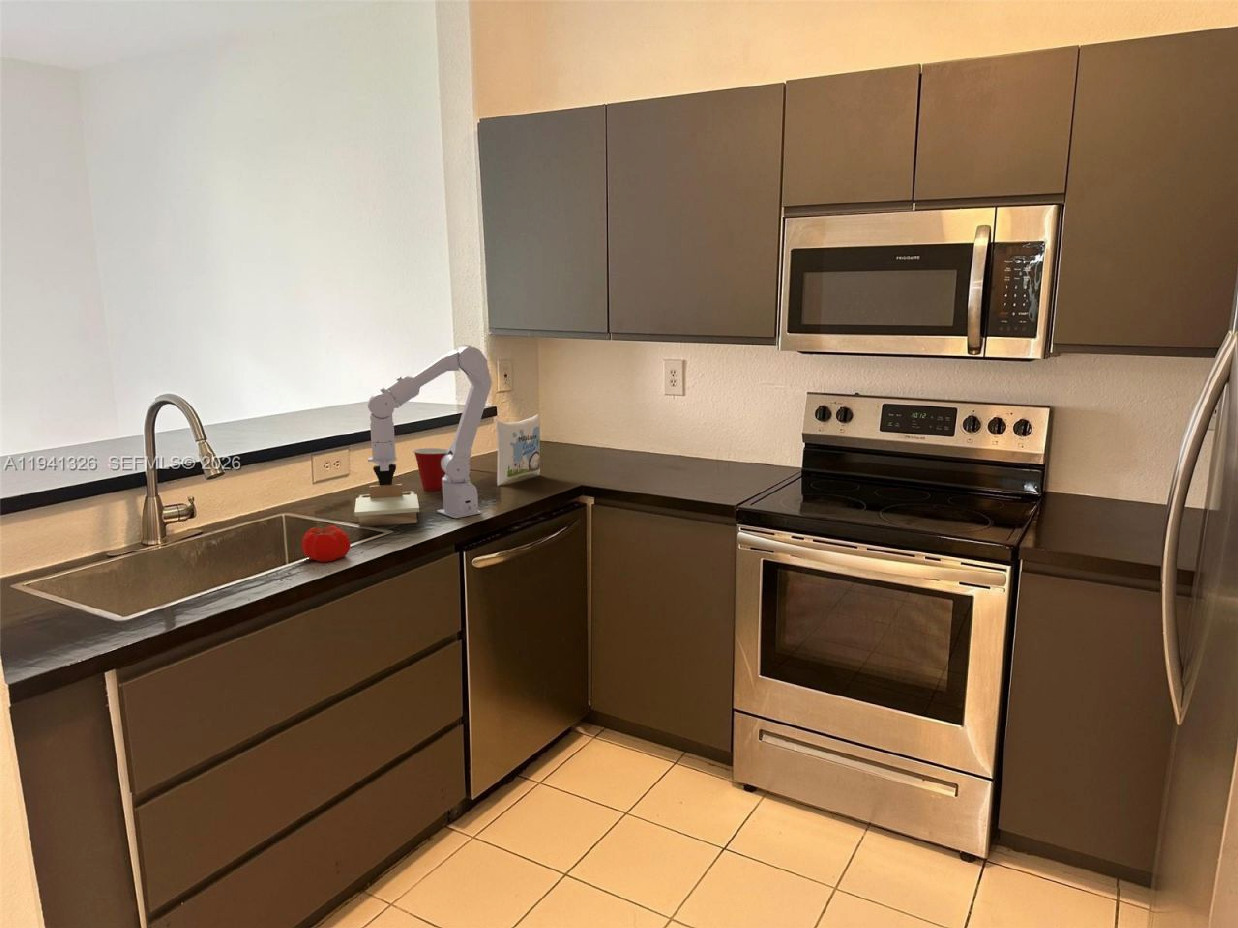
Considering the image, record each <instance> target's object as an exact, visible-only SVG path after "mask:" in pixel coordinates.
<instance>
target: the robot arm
mask: <svg viewBox="0 0 1238 928" xmlns="http://www.w3.org/2000/svg"><path fill="white" fill-rule="evenodd" d="M460 369H461V371H463V372H464V374H465V376H466V378H467V379H468V380H469V382H470V384H471V385H470V389H469V391H468V395H467V399H466V402H465V405H464V406H463V407H464V408H463V411H462V413H461V416H460V420H459V424H458V426H457V429H456V432H455V435H454V438H453V441H452V443H451V444H450V446H449V449H448V450H449V451H448V453H447V454H446V455H445V456H444V457H443V458H442V461H441V467H442V469H443V471H444V472H445V475H444V477H443V478H442V485H443V488H442V500H443V501H442V503H443V509H437V511H436V512H437V513H439V514H441V515H445V516H448V517H450V518H454V519H459V518H464V517H470V516H475V515H479V514H482V511H480V510H479V499H478V497H479V496H478V490H477V489H478V488H477V487H476V486H475V485H474V484H473V483H472V482H471V477H470V473H471V465H470V461H471V458H472V447H473V444H474V441H475V438H476V434H477V431H478V429H479V425H480V422H481V419H482V415H483V413H484V410H485V408H486V407H485V406H486V404H487V400H488V397H489V394H490V392H491V388H492V385H493V384H492V383H493V381H492V376H491V374H490V369H489V366H488V360H487V358H486V357H485V355H484V353H483V352H482V351H481V349H479V348H477V347H475V346H474V347H473V346H471V345H467V344H463V345H460V346H459V347H457V348H456V349H453V350H450V351H449V352H447V353H445V354H444V355H442V356H441V357H439V358H438V359H436V360H434V362H432V363H430V364H429V365H428V366H426V367H425V368H424V369H422V370H420V371H419V372H418V373H417V374H415V375H413V376H410V375H404V376H403V377H402V376H401V375H400V376H398V377H396V378H395V379H396V381H395V382H393V383H391V384H390V385H389V386H387V387H386V388H384V387H382V388H380V391H381V392H379V393H378V392H377V393H375V394H373V395H372V396H370V397H369V400H368V403H367V408H368V410H369V412H371V413H370V417H369V418H370V424H369V426H370V427H369V428H370V438H371V439H370V440H371V442H370V443H371V454H372V455H371V457H367V462H368V463H373V464H375V465H373V467H372V470H373V472H374V473H375V475H376V477H377V481H378V483H379V484H378V485H392V484H393V479H394V478H393V477H394V474H395V472H396V469H397V464H396V463H394V462H396V461H398V458H397V456H396V455H397V454H396V441H395V440H396V438H395V425H394V424H395V423H394V421H393V413H394V411H395V409H396V408H397V409H399V408H400V407H402V406H403V405H405V404H406V403H408V402H409V401H410V400H412V399H414V398H415V397H417V396H418V395H419V394H420V389H421V387H423V386H424V385H426V384H428V383H429V382H432V381H433V380H435V379H436V378H438V377H439V376H441V375H442V374H445V373H447V372H457V371H458V372H459V371H460Z"/></svg>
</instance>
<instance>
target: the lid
mask: <svg viewBox="0 0 1238 928" xmlns="http://www.w3.org/2000/svg"><path fill="white" fill-rule="evenodd" d="M403 492H404V491H403V484H402V483H398V484H397V483H394V484H393V483H392V485H380V484H376V485H369V494H370V497H364V498H359V497H355V503H354V511H353V514H354V517H359V516H367V515H381V514H395V513H409V512H416V513H419V512H420V506H419V500H418V496H417V495H418V494H417V493H414V494H409V495H403Z"/></svg>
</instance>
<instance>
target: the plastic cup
mask: <svg viewBox="0 0 1238 928" xmlns="http://www.w3.org/2000/svg"><path fill="white" fill-rule="evenodd" d="M448 451H449V449H448V448H447V449H446V448H438V447H437V448H434V447H429V448H427V447H425V448H416V449H413V450H412V452H413V454H414V456H415V457H414V458H415V460H416V464H417V469H418V473H419V478H420V482H421V485H422V489H423V490H424V491H430V492H433V491H434V492H435V491H439V490H440V491H441V490H443V485H442V478H443V477H444V475H445V472H444V471H443V469H442V467H441V461H442V458H443V457H444V456H445V455H446V454H447V453H448Z"/></svg>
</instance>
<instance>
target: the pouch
mask: <svg viewBox="0 0 1238 928" xmlns="http://www.w3.org/2000/svg"><path fill="white" fill-rule="evenodd" d="M540 418H541V417H540V413H537V414H535V415H534V416H531V417H529V418H526V419H522V420H520V421H509V422H503V421H500V420H496V437H497V438H496V440H497V441H496V443H497V487H499V486H501V485H504V484H505V483H506V482H508V481H511V480H514V479H516V478H519V477H521V476H528V475H532V474H533V475H537V476H540V473H541V454H540V450H541V449H540V442H541V441H540V438H541V434H540V433H541V432H540V431H541V430H540V429H541V419H540Z"/></svg>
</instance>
